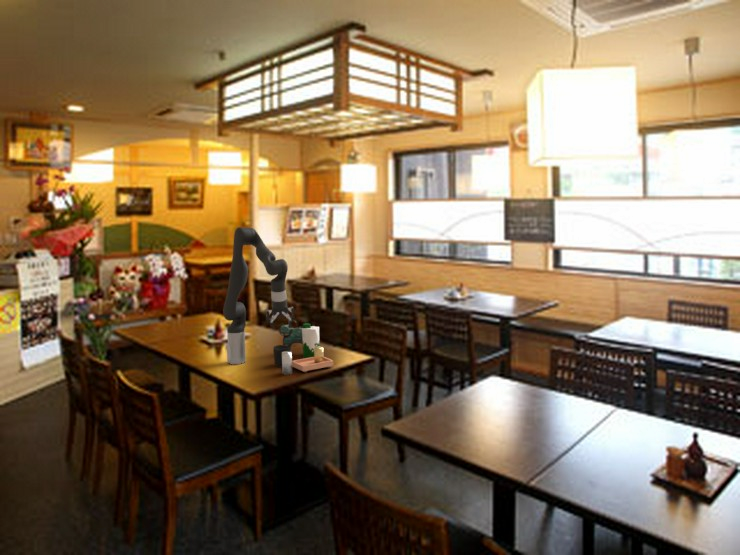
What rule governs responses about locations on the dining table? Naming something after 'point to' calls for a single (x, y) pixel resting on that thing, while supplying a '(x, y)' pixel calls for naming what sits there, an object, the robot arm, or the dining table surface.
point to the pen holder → (279, 354)
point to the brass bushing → (318, 354)
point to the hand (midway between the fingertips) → (281, 327)
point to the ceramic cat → (291, 335)
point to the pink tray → (311, 364)
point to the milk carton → (310, 339)
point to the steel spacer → (287, 362)
